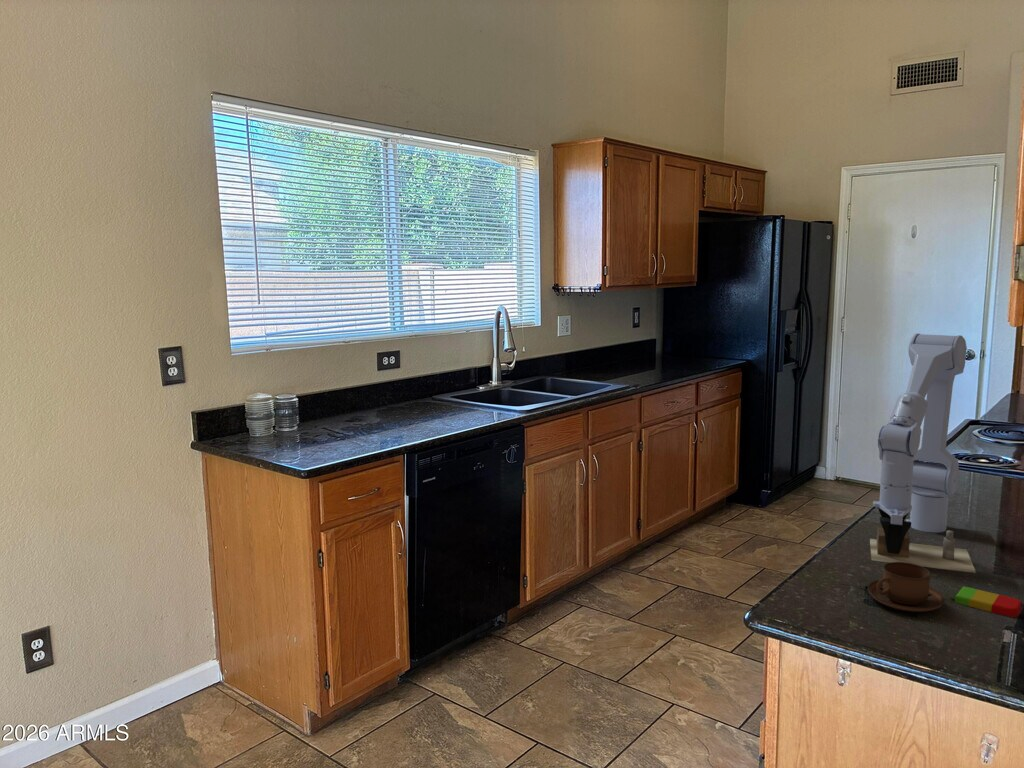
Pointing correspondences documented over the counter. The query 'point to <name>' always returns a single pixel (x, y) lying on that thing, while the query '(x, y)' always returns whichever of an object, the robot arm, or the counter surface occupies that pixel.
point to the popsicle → (989, 601)
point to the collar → (883, 549)
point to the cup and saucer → (906, 588)
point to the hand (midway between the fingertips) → (892, 547)
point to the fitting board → (931, 555)
